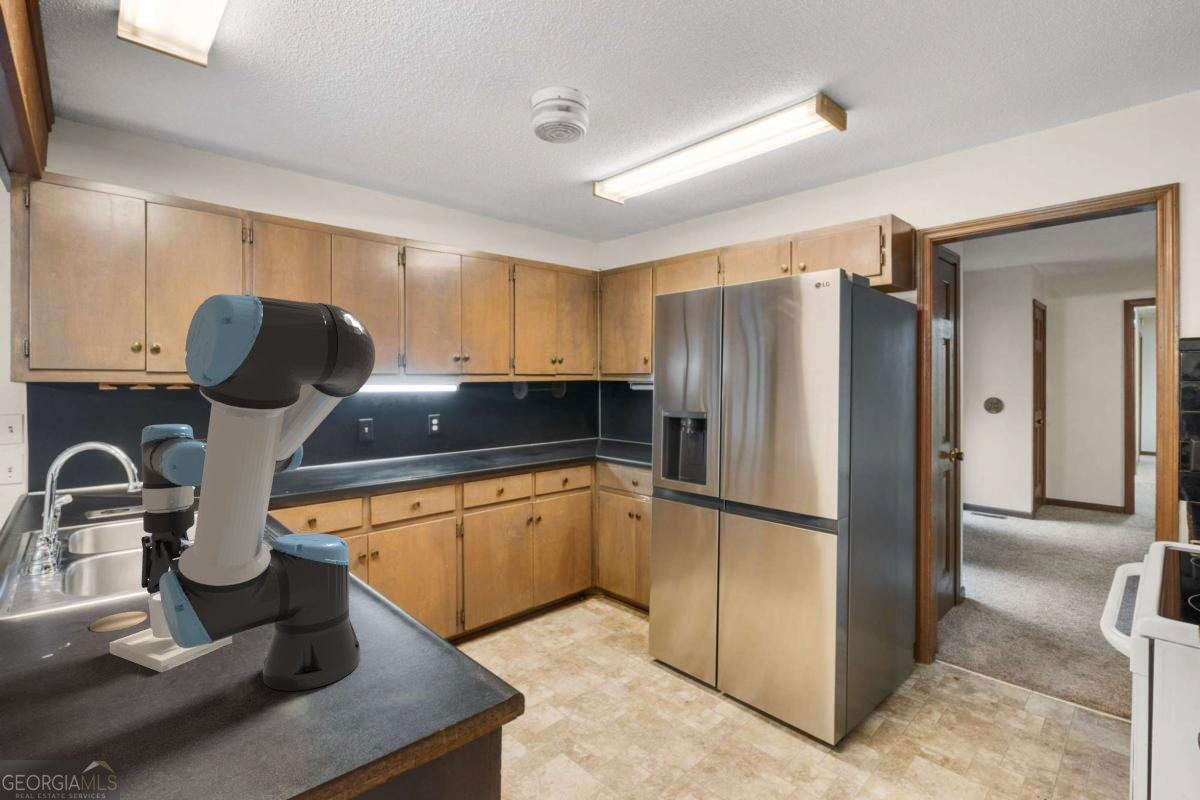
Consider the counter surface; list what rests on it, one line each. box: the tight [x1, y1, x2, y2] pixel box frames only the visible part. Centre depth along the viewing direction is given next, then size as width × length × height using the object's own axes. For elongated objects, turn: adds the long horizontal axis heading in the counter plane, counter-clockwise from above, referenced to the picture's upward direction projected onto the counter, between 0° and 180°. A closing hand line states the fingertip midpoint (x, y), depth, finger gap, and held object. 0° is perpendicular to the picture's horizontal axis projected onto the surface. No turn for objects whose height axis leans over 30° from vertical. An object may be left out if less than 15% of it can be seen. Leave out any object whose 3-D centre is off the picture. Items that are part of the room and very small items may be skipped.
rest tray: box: [109, 627, 233, 674], centre depth 105 cm, size 16×12×2 cm
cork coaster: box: [89, 611, 148, 633], centre depth 115 cm, size 9×9×1 cm
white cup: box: [147, 592, 172, 638], centre depth 104 cm, size 7×7×7 cm
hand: (171, 629), depth 105 cm, fingers closed on white cup, 7 cm apart
